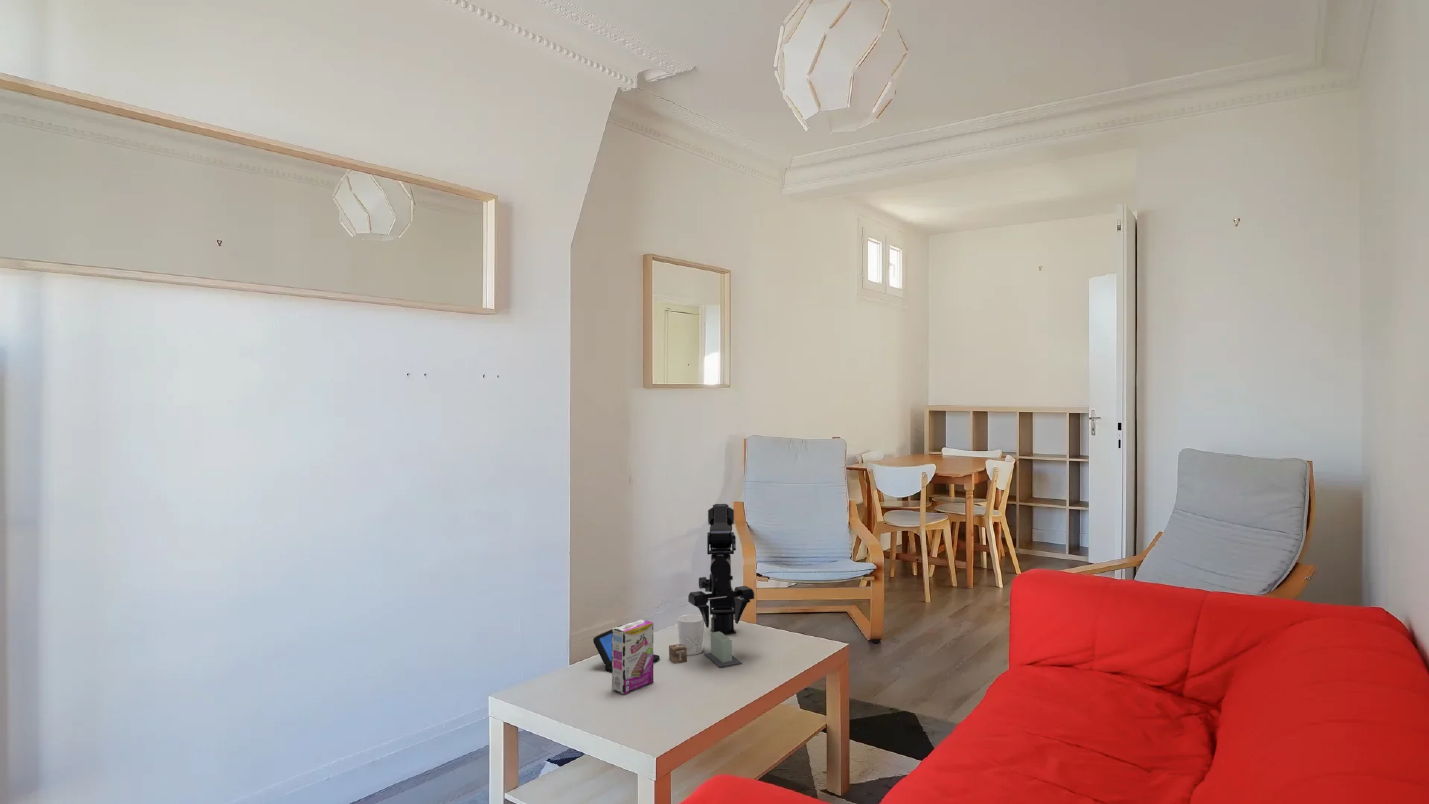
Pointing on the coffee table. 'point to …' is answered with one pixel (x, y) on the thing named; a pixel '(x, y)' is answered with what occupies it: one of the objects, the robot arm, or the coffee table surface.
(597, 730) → the coffee table surface
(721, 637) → the sage rectangular block
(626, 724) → the coffee table surface
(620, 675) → the candy bar box
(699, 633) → the white cup
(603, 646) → the game console
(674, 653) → the letter block
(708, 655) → the dark gray panel
